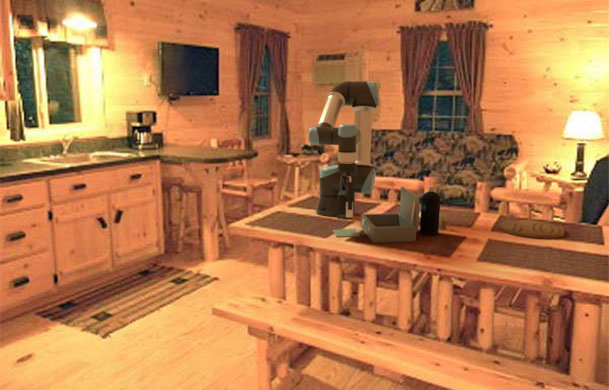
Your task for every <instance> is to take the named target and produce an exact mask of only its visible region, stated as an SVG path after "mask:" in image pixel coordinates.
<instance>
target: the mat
mask: <svg viewBox="0 0 609 390" xmlns="http://www.w3.org/2000/svg"><path fill="white" fill-rule="evenodd" d="M332 233H333V235H334V236H335V237H336V238H351V237H353V238H354V237H361V234H360V233H359V232H358V231H357V229H356V228H345V229H342V228H341V229H332Z"/></svg>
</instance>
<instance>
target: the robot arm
mask: <svg viewBox="0 0 609 390" xmlns="http://www.w3.org/2000/svg"><path fill="white" fill-rule="evenodd" d="M379 91H380V90H379V85H378V83H377V82H376V81H369V80H367V81H366V80H361V81H360V80H359V81H349V80H348V81H343V82H340V83H337V84H336V85H334V86H333V87H332V88H331V89H330V90H329V91H328V92H327V94H326V97H325V100H324V101H325V105H324V108H323V110H322V113H321V114H320V118H319V120H318V123H317V125H316V126H312V127H310V128H309V129H308V142H309V143H310V144H311V145H318V146H320V145H322V146H323V145H325V146H337V147H338V150H337V153H338V154H336V157H337V159H338V160H337V161H338V162H337V164H336V165H328V166H324V167H322V168H321V169H320V171H319V177H318V178H319V197H318V202H317V204H316V208H315V213H316V214H317V215H320V216H324V217H325V216H328V217H337V209H338V194H339V192H340V191H341V190H346V198H347V200H345V202H346V217H354V216H353V201H354V191H355V194H370V193H372V192H373V189H374V186H375V181H376V174H377V173H376V170H375V168H374V165H373V164H372V163H371V149H372V147H371V145H372V132H373V131H372V129H373V126H372V125H373V113H374V112H376V110H377V107H379V106H380V102H381V101H380V92H379ZM346 106H348V107H349V106H350V107H351V110H352V111H353V112H354V117H353V119H354V120H353V122H354V123H345V124H344V123H341V124H339V126H338V127H336V124H337V121H338V119H339V115H340V113H341V110H342V109H343V108H344V107H346Z"/></svg>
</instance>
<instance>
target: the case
mask: <svg viewBox="0 0 609 390" xmlns="http://www.w3.org/2000/svg"><path fill="white" fill-rule="evenodd" d="M420 199H421V196H419V195H417V193H416V194H415V193H414V192H413V191H410V190H409V189H408V188H406V187H405V186H400V202H399V203H400V204H399V206H400V207H399V212H393V213H392V212H391V213H362V214H361V215H360V229H361V230H362V231H364V233H365V234H366V235H367V237H368V238H369V239H370V240H371V241H372V243H375V244H376V243H396V242H397V243H399V242H416V240H417V232H419V229H420V207H421V203H420V202H421V200H420Z"/></svg>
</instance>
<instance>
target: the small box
mask: <svg viewBox="0 0 609 390" xmlns="http://www.w3.org/2000/svg"><path fill="white" fill-rule="evenodd" d="M345 200H347V198H346V190H341V191H340V192H339V194H338V209H337V216H336V220H353V217H354V216H355V213H356V212H355V209H356V205H355V204H356V193H355V191H354V201H353V217H346V202H345Z"/></svg>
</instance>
